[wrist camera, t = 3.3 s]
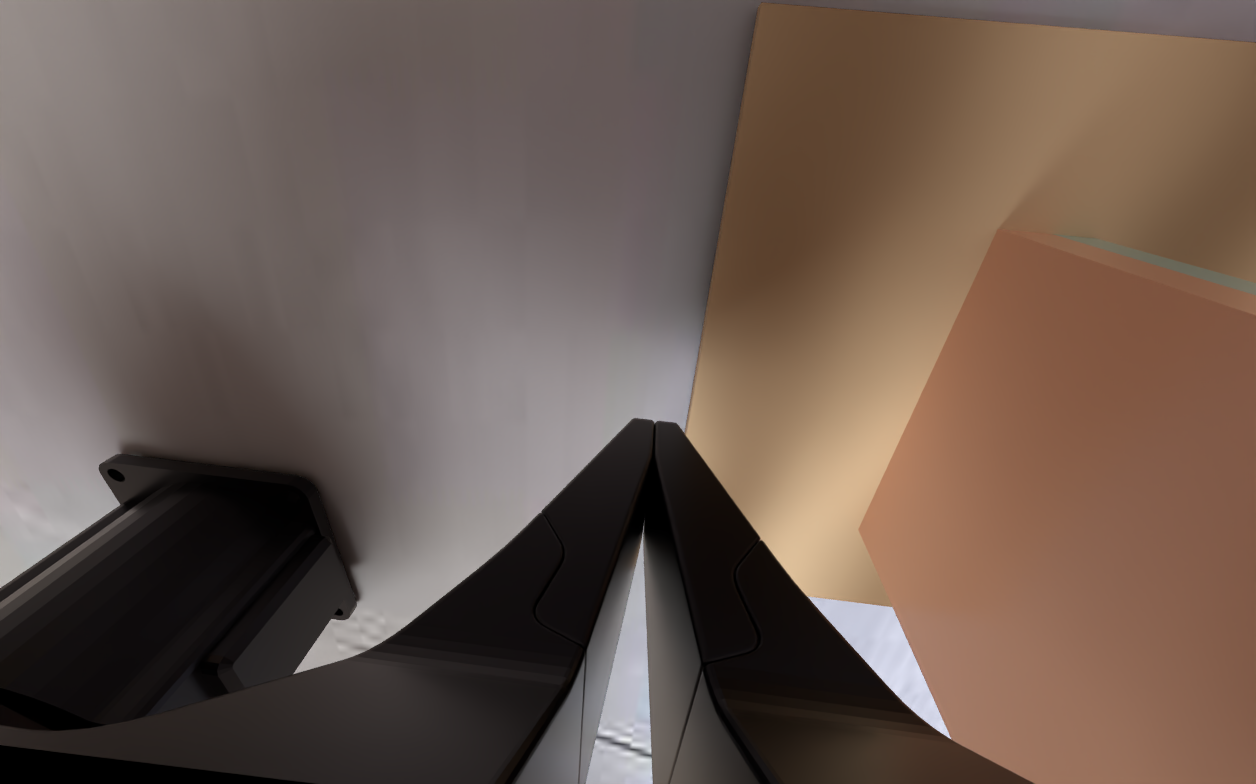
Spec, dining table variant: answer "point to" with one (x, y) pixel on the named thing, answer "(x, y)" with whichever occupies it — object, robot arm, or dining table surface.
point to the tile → (1084, 517)
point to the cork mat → (929, 229)
